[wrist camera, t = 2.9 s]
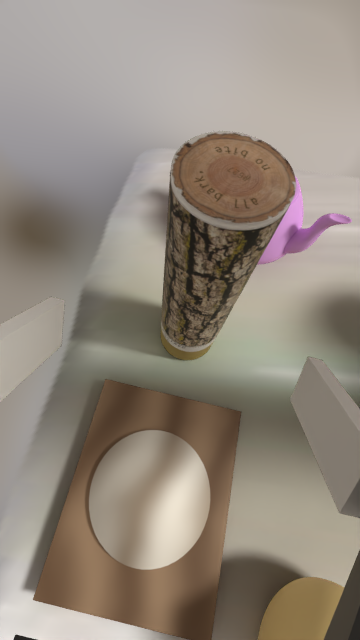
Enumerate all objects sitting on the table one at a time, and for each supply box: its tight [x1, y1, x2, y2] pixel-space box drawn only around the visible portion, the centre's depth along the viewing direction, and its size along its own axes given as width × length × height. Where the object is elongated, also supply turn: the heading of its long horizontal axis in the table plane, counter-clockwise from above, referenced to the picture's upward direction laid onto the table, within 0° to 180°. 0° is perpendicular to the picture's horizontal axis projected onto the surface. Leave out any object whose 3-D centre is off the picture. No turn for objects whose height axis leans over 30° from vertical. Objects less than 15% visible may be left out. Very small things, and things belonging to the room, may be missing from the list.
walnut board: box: [33, 379, 241, 640], centre depth 30 cm, size 16×20×2 cm
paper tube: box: [161, 131, 296, 360], centre depth 27 cm, size 7×7×25 cm
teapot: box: [257, 177, 352, 264], centre depth 40 cm, size 20×14×12 cm
